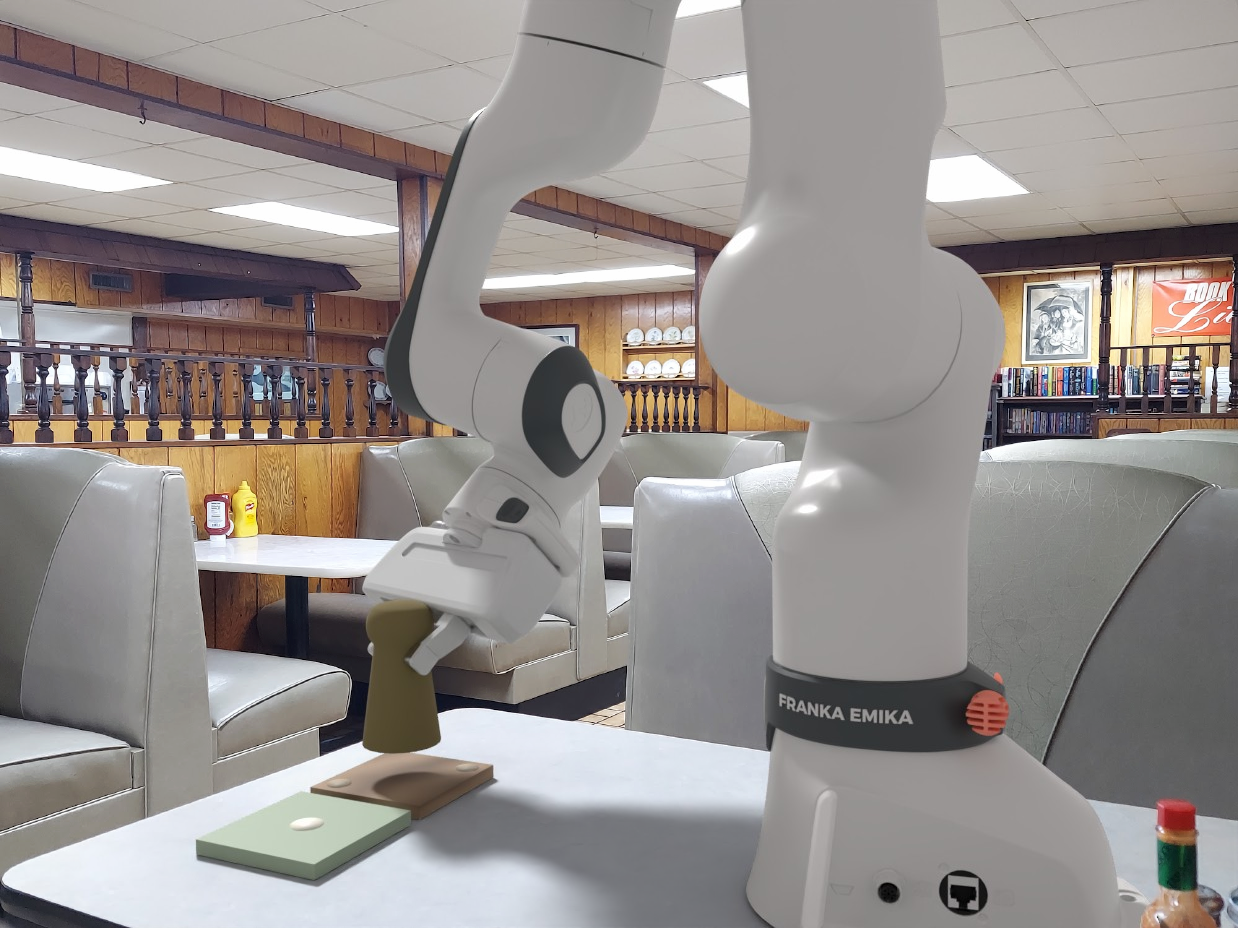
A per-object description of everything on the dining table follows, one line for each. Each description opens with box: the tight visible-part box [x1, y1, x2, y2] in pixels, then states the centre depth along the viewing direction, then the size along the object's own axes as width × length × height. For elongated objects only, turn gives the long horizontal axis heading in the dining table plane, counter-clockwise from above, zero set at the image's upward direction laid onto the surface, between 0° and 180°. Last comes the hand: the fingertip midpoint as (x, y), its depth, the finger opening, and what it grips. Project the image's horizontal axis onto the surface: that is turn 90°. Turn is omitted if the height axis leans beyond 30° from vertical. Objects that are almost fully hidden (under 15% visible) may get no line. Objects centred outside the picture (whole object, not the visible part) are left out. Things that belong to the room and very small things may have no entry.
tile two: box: [309, 752, 495, 821], centre depth 82 cm, size 10×10×1 cm
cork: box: [361, 600, 442, 754], centre depth 81 cm, size 6×6×11 cm
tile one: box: [195, 790, 412, 881], centre depth 72 cm, size 10×10×1 cm
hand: (394, 663), depth 81 cm, fingers closed on cork, 4 cm apart
